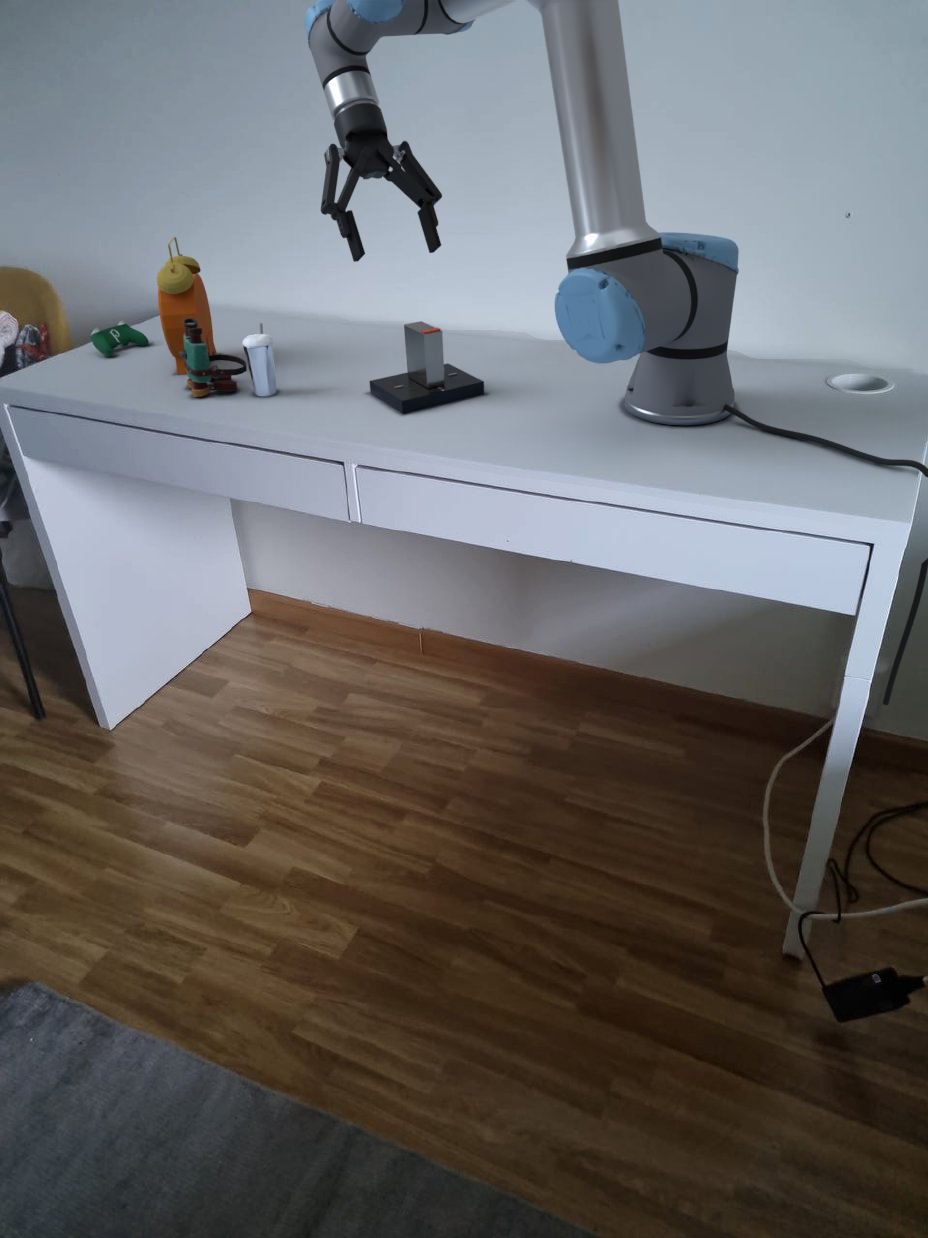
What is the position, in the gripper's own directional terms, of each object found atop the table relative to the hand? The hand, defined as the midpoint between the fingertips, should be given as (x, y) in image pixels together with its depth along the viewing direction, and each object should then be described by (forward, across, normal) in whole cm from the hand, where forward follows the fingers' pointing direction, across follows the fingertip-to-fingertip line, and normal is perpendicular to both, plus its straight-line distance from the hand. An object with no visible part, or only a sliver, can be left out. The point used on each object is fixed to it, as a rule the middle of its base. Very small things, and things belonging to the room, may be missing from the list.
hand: (398, 253), depth 136 cm
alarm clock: (+3, +25, -34) cm, 42 cm away
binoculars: (+10, +26, -22) cm, 36 cm away
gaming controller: (-6, +32, -49) cm, 59 cm away
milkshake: (+14, +21, -15) cm, 30 cm away
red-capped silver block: (+20, +3, +2) cm, 20 cm away
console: (+22, +3, 0) cm, 22 cm away
